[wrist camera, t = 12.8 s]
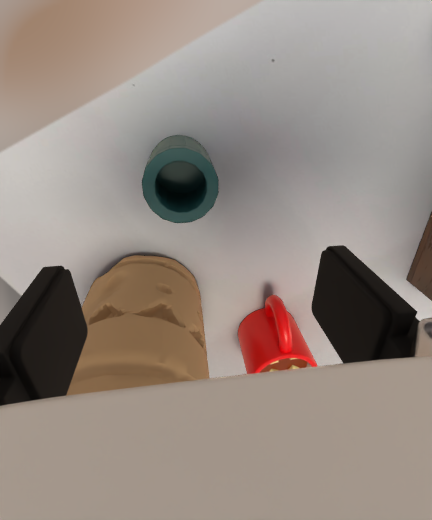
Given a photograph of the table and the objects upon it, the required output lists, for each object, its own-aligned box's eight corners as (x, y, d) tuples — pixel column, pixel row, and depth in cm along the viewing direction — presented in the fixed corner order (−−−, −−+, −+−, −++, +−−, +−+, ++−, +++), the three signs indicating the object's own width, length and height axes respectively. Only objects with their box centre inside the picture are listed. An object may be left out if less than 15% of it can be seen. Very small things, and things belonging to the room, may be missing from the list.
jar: (208, 134, 27) (218, 146, 21) (210, 194, 29) (218, 221, 23) (146, 136, 26) (136, 149, 20) (153, 197, 29) (147, 225, 23)
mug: (297, 276, 36) (325, 319, 29) (293, 346, 42) (316, 395, 35) (233, 286, 35) (246, 332, 29) (239, 355, 41) (251, 407, 35)
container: (176, 235, 31) (174, 378, 16) (214, 318, 38) (239, 479, 22) (68, 274, 32) (-33, 445, 17) (123, 349, 38) (86, 523, 23)
